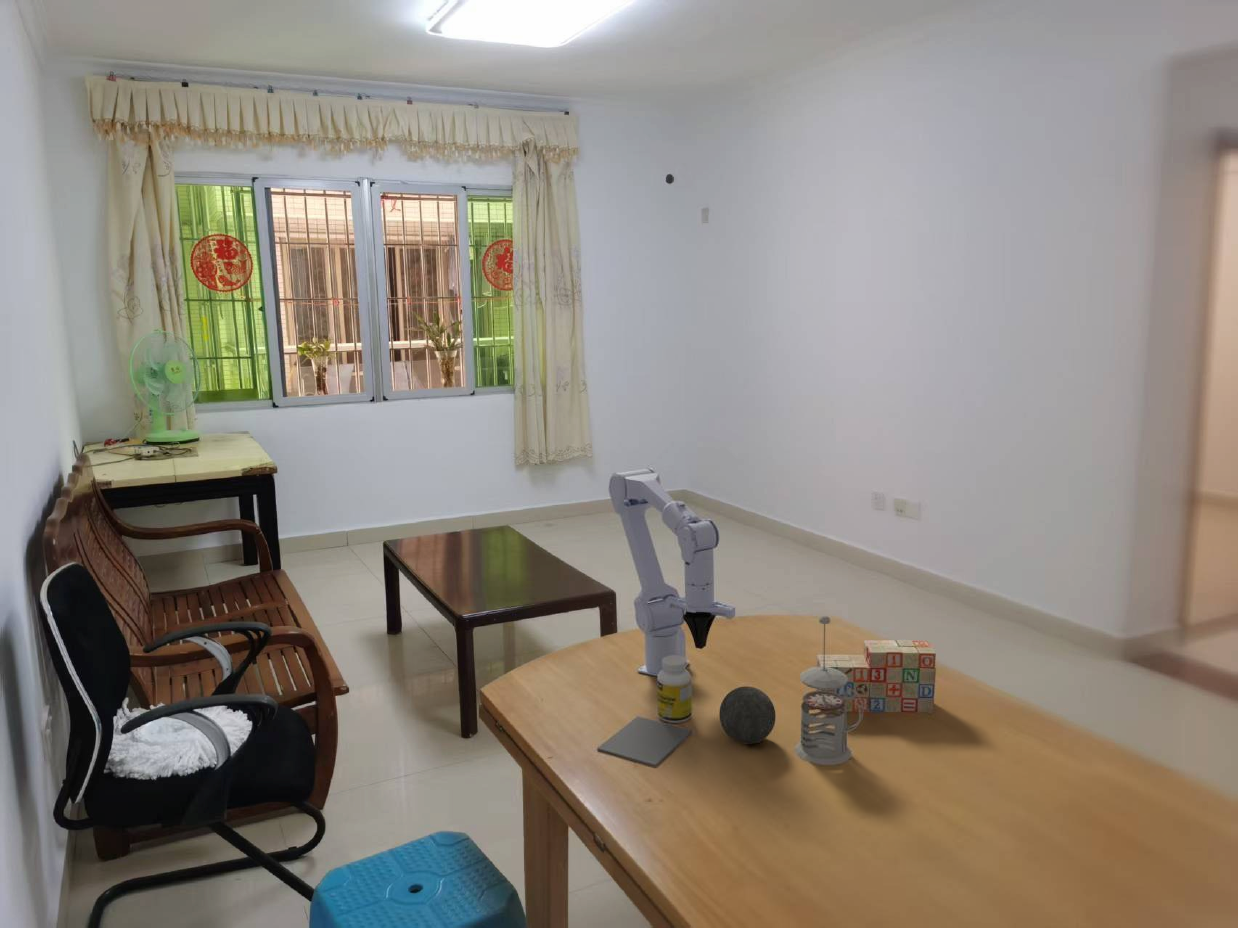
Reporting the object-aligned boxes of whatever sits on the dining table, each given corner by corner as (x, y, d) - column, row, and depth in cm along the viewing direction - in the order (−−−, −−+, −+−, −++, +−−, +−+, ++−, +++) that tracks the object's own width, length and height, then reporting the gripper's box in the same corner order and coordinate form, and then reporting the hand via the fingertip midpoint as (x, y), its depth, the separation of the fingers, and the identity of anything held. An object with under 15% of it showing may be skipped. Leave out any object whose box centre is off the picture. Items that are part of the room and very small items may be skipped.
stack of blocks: (820, 712, 171) (820, 651, 169) (815, 697, 177) (816, 639, 175) (934, 713, 169) (936, 652, 167) (926, 698, 175) (928, 639, 173)
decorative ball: (770, 757, 155) (770, 704, 153) (714, 750, 158) (713, 697, 156) (779, 731, 164) (779, 680, 162) (726, 724, 167) (725, 674, 165)
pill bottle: (653, 712, 173) (651, 656, 171) (683, 706, 175) (682, 650, 173) (666, 727, 167) (664, 669, 165) (697, 720, 169) (696, 663, 167)
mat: (637, 718, 171) (637, 716, 171) (693, 732, 165) (693, 730, 164) (597, 750, 159) (597, 748, 159) (655, 766, 153) (655, 764, 153)
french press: (805, 732, 163) (806, 602, 158) (869, 747, 157) (871, 612, 153) (786, 756, 155) (787, 620, 150) (852, 773, 149) (855, 631, 144)
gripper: (657, 582, 176) (659, 647, 179) (723, 592, 169) (724, 660, 171) (674, 572, 182) (676, 635, 184) (739, 582, 174) (740, 647, 177)
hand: (700, 646), depth 178 cm, fingers closed
